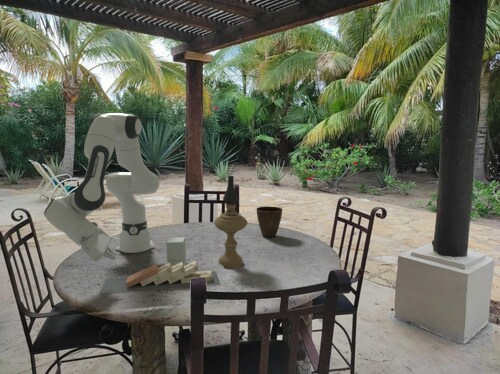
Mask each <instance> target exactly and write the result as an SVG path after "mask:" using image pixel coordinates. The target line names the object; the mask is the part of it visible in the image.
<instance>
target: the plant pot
mask: <svg viewBox="0 0 500 374" xmlns="http://www.w3.org/2000/svg"><path fill="white" fill-rule="evenodd" d="M255 209H256V217H257V221H258V226H259V229H260V230H259V231H260V232H261V236H262V237H264V238H269V239H271V238H275V237H276V236H277V233H278V231H279V228H280V224H281V221H282V215H283V210H284V209H283V208H282V207H277V206H260V207H256V208H255Z"/></svg>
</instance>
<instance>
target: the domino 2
mask: <svg viewBox="0 0 500 374" xmlns="http://www.w3.org/2000/svg"><path fill="white" fill-rule="evenodd" d="M158 267H159V266H158ZM169 273H172V266H171V264H170V263H167V262H166V264H164V265H162V266H160V267H159V270H158V274H156V275H154V276H152V277H150V278H148V279H146V280H143V281H141V282H140V283H141V285H142V286H145V285H147V284H149V283H151V282H153V281H155V280H157V279H159V278H161V277H163V276H165V275H167V274H169Z"/></svg>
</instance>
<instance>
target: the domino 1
mask: <svg viewBox="0 0 500 374" xmlns="http://www.w3.org/2000/svg"><path fill="white" fill-rule="evenodd" d="M158 270H159V266H158V264H157V263H154V264H152V265H150V266H148V267H146V268H144V269H141V270H140V271H137V272H136V273H133V274H131V275H129V276H127V277H126V278H127V281H126V284H127V286H128V288H129V287H131V286H133V285H135V284H137V283H139V282H141V281H143V280H146V279H148V278H150V277H152V276H154V275H156V274H158Z"/></svg>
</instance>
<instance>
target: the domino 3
mask: <svg viewBox="0 0 500 374" xmlns="http://www.w3.org/2000/svg"><path fill="white" fill-rule="evenodd" d="M183 272H185V268H184V264H183V262H181V263H179V264H176V265H174V266H172V273H169V274H167V275H165V276H163V277H161V278H159V279H157V280H155V281H154V283H155V285H158V284H160V283H162V282H164V281H166V280H168V279H170V278H173V277H175V276H177V275H179V274H181V273H183Z"/></svg>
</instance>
